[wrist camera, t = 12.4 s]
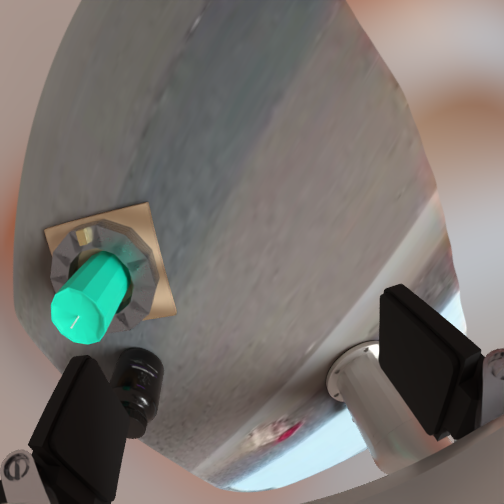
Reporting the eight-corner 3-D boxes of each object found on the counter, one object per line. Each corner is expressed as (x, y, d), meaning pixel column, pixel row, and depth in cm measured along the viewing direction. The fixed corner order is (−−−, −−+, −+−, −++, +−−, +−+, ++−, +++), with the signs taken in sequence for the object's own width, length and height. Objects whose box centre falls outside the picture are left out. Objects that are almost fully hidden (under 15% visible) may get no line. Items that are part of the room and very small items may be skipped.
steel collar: (170, 311, 36) (167, 328, 33) (82, 325, 35) (72, 340, 32) (142, 209, 32) (134, 216, 28) (49, 233, 31) (34, 242, 28)
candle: (137, 261, 34) (107, 313, 23) (124, 303, 35) (96, 364, 24) (92, 242, 32) (46, 285, 21) (81, 285, 34) (40, 339, 23)
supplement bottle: (158, 344, 39) (145, 408, 28) (169, 381, 41) (162, 444, 30) (112, 347, 38) (89, 407, 27) (126, 382, 40) (110, 443, 29)
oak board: (176, 310, 38) (176, 314, 37) (82, 325, 37) (80, 329, 36) (148, 201, 33) (146, 203, 32) (47, 227, 32) (44, 229, 31)
